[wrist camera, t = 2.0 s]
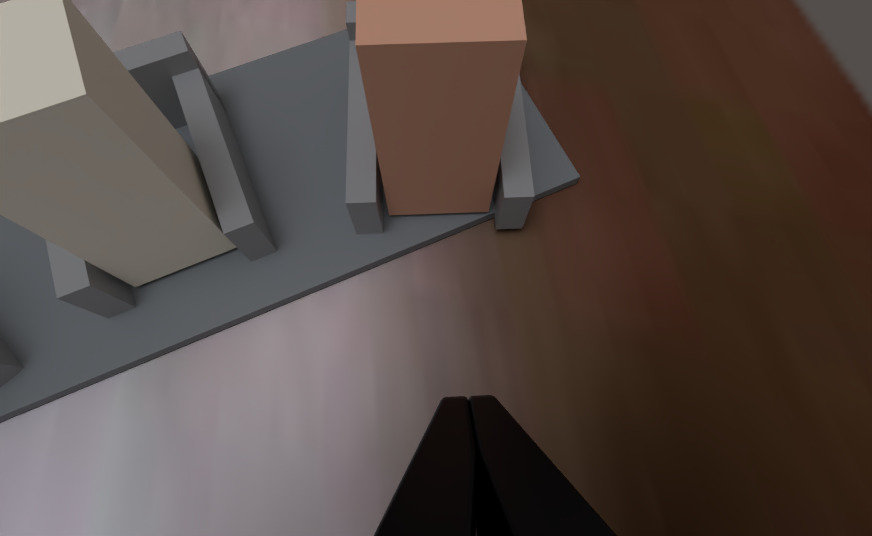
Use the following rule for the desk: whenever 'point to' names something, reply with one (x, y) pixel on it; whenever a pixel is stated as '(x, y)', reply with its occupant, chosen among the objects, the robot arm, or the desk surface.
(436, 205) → the terracotta box
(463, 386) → the desk surface
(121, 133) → the cream box
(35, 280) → the grey three-slot stand
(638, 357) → the desk surface
